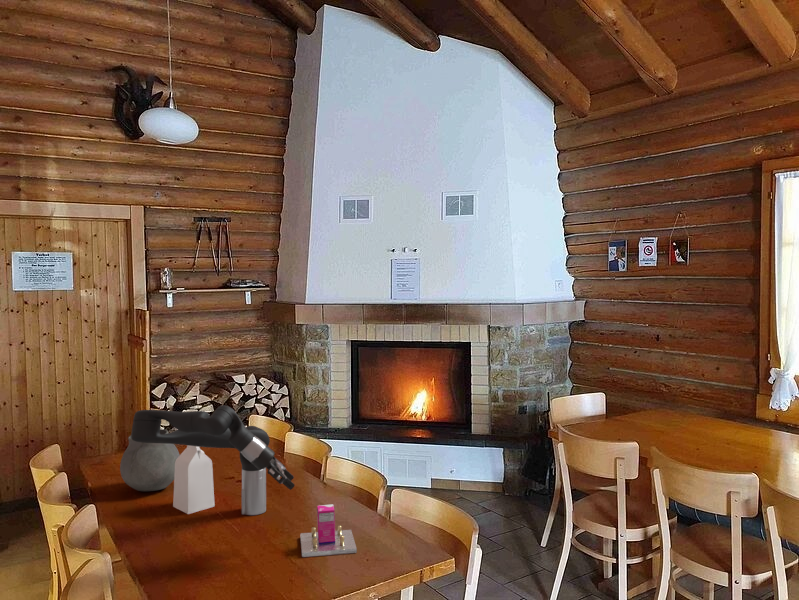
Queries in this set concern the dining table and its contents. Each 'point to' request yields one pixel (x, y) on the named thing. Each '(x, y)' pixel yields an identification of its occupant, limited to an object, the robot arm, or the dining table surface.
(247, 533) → the dining table surface
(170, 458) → the ceramic pot
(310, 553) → the chassis plate
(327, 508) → the supplement box
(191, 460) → the milk
